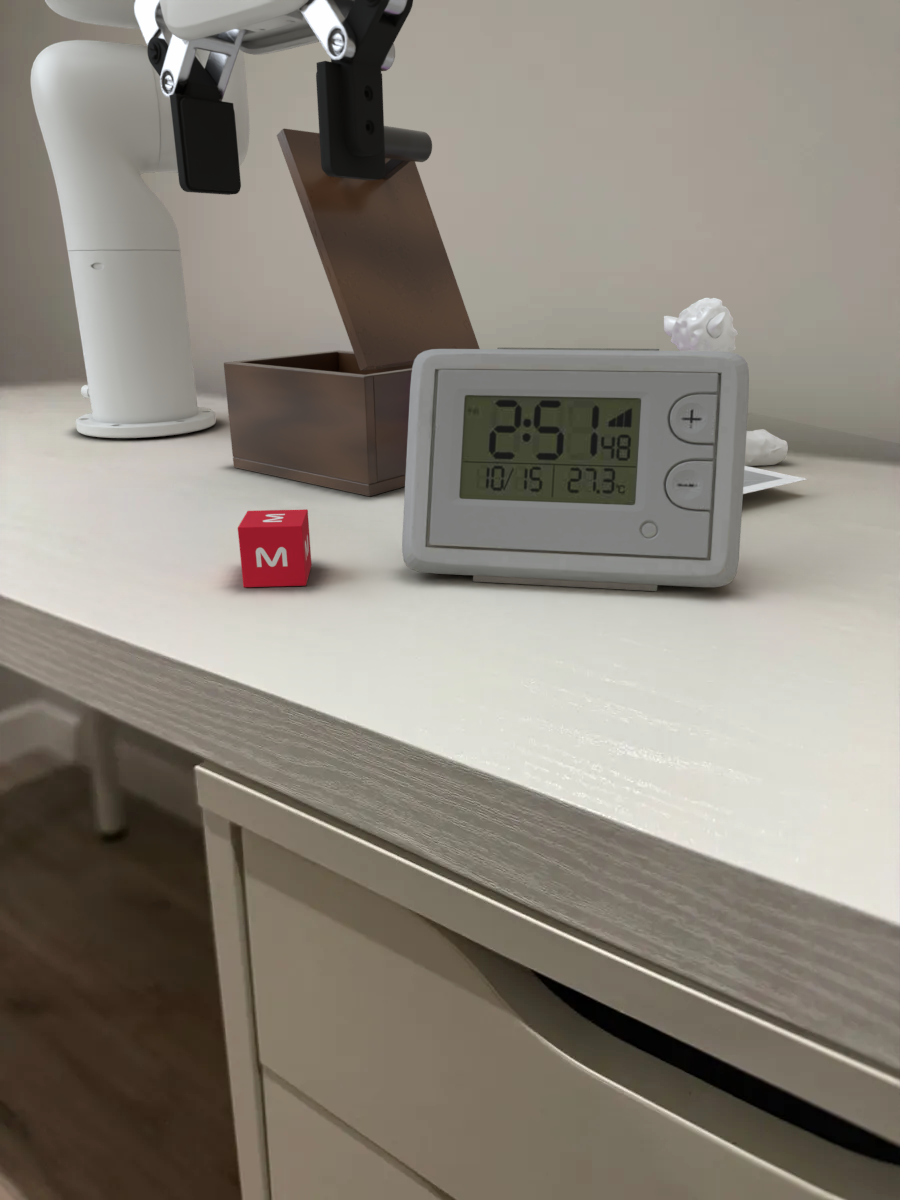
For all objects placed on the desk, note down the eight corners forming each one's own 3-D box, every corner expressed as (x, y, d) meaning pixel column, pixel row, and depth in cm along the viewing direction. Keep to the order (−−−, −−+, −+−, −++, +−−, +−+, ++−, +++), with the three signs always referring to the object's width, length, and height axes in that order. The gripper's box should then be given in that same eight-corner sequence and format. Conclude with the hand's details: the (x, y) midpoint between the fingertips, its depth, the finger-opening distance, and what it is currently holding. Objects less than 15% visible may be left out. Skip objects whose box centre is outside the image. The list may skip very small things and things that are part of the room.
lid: (275, 134, 55) (324, 85, 51) (402, 150, 63) (451, 109, 60) (360, 371, 56) (413, 339, 52) (473, 356, 64) (526, 328, 61)
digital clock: (384, 578, 43) (376, 355, 39) (451, 529, 51) (450, 339, 47) (727, 622, 38) (756, 367, 34) (743, 560, 46) (768, 347, 42)
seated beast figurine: (790, 463, 67) (812, 297, 63) (719, 480, 62) (738, 301, 58) (690, 445, 74) (703, 294, 70) (619, 458, 69) (629, 297, 65)
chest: (233, 467, 67) (223, 362, 65) (343, 444, 76) (338, 350, 73) (369, 496, 59) (364, 376, 56) (477, 466, 67) (477, 360, 64)
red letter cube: (252, 567, 45) (247, 510, 44) (311, 565, 45) (307, 509, 44) (243, 587, 42) (237, 527, 41) (306, 585, 42) (301, 525, 41)
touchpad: (554, 505, 56) (555, 471, 55) (710, 473, 64) (713, 444, 63) (645, 534, 50) (647, 497, 49) (805, 495, 58) (810, 462, 57)
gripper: (480, -355, 31) (481, 177, 37) (189, -196, 42) (226, 201, 48) (326, -484, 26) (355, 163, 32) (34, -264, 36) (98, 193, 42)
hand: (278, 185), depth 40 cm, fingers open, 9 cm apart
